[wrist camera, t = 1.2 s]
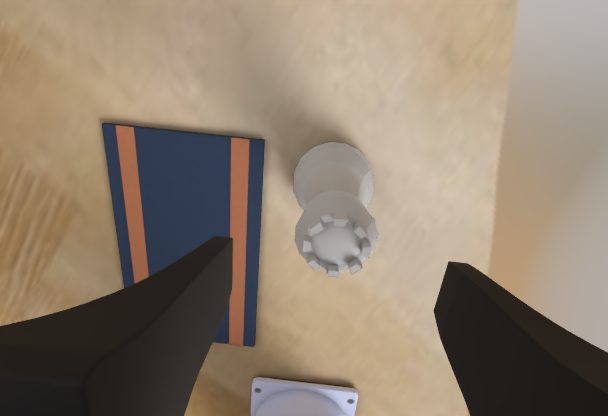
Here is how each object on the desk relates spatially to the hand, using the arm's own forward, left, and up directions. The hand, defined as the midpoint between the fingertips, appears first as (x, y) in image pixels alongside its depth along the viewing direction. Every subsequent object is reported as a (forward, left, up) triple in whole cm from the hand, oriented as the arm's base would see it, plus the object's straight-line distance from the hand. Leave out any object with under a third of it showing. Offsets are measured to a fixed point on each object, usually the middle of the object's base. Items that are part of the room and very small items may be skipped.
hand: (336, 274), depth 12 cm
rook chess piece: (0, 0, -10) cm, 10 cm away
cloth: (-6, +8, -9) cm, 14 cm away
